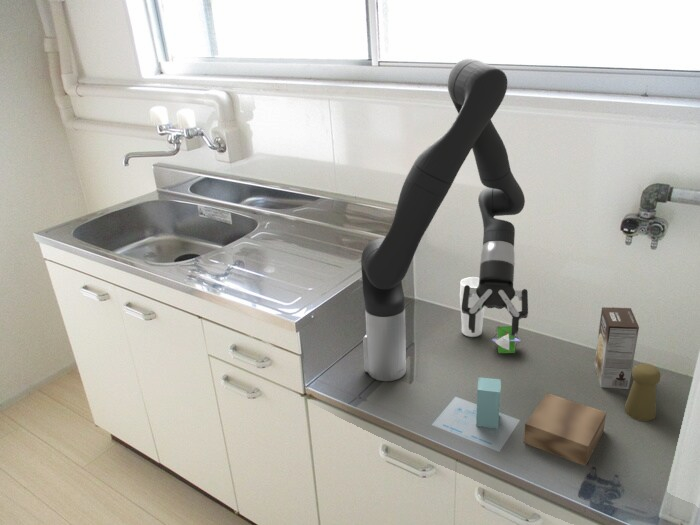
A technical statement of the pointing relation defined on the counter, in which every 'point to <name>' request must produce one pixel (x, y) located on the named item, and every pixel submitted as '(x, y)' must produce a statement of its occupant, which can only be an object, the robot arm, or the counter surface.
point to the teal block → (488, 402)
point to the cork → (643, 393)
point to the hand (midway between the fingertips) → (492, 333)
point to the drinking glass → (472, 283)
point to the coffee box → (616, 347)
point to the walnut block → (565, 428)
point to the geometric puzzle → (505, 340)
